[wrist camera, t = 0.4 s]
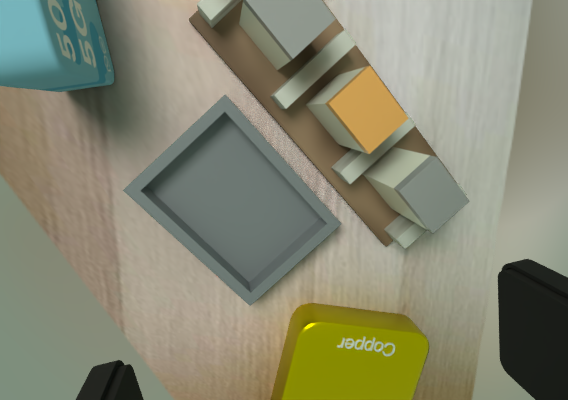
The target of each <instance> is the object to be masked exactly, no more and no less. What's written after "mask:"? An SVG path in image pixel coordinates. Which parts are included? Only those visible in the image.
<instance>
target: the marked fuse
mask: <svg viewBox="0 0 568 400" xmlns="http://www.w3.org/2000/svg"><path fill="white" fill-rule="evenodd" d="M306 106H307V107H308V108H309V110H310V111H311V112H312V113H313V114H314V116H315V117H316V118H317V119H318V120H319V122H320V123H321V124H322V125H323V126H324V128H325V129H326V130H327V131H328V133H329V134H330V135H331V136H332V137H333V139H334V140H335V141H336V142H337V143H338V144H339V145H342V146H345V147H348V148H352V149H355V150H358V151H361V152H364V153H367V154H370V153H371V152H372V151H373V150H374V149H375V148H377V147H378V146H379V145H380V144H381V143H382V142H383V141H384V140H385V139H387V138H388V137H389V136H390V135H391V134H392V133H393V132H394V131H395V130H396V129H398V128H399V127H400V126H401V125H402V124H403V123H404V122H405V121H406V120H408V119H409V118H408V117H407V115H406V114H405V113H404V111H403V110H402V108H401V107H400V106H399V104H398V103H397V102H396V100H395V99H394V98H393V96H392V95H391V93H390V92H389V91H388V89H387V88H386V87H385V85H384V84H383V83H382V81H381V80H380V78H379V77H378V76H377V74H376V73H375V72H374V70H373V69H372V68H371V66H367V67H363V68H360V69H356V70H353V71H350V72H346V73H343V74H340V75H337V76H336V77H335V78H334V79H333V80H332V81H330V82H329V83H328V84H327V85H326V86H325V87H324V88H323V89H322V90H321V91H320V92H319V93H317V94H316V95H315V96H314V97H313V98H312V99H311V100H310V101H309V102H308V103H307V104H306Z"/></svg>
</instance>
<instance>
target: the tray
mask: <svg viewBox="0 0 568 400" xmlns="http://www.w3.org/2000/svg"><path fill="white" fill-rule="evenodd" d="M123 191H124V192H125V193H126V194H128V195H129V196H130V197H131V198H132V199H133V200H134V201H135V202H136V203H137V204H139V205H140V206H141V207H142V208H143V209H144V210H145V211H146V212H147V213H148V214H150V215H151V216H152V217H153V218H154V219H155V220H156V221H157V222H158V223H159V224H161V225H162V226H163V227H164V228H165V229H166V230H167V231H168V232H169V233H171V234H172V235H173V236H174V237H175V238H176V239H177V240H178V241H179V242H180V243H182V244H183V245H184V246H185V247H186V248H187V249H188V250H189V251H190V252H191V253H193V254H194V255H195V256H196V257H197V258H198V259H199V260H200V261H201V262H202V263H204V264H205V265H206V266H207V267H208V268H209V269H210V270H211V271H212V272H213V273H215V274H216V275H217V276H218V277H219V278H220V279H221V280H222V281H223V282H224V283H226V284H227V285H228V286H229V287H230V288H231V289H232V290H233V291H234V292H235V293H237V294H238V295H239V296H240V297H241V298H242V299H243V300H244V301H245V302H246V303H248V304H249V305H252V304H253V303H254V302H255V301H256V300H257V299H258V298H259V297H260V296H262V295H263V294H264V293H265V292H266V291H267V290H268V289H269V288H271V287H272V286H273V285H274V284H275V283H276V282H277V281H278V280H279V279H281V278H282V277H283V276H284V275H285V274H286V273H287V272H288V271H289V270H291V269H292V268H293V267H294V266H295V265H296V264H297V263H298V262H300V261H301V260H302V259H303V258H304V257H305V256H306V255H307V254H308V253H310V252H311V251H312V250H313V249H314V248H315V247H316V246H317V245H318V244H320V243H321V242H322V241H323V240H324V239H325V238H326V237H327V236H329V235H330V234H331V233H332V232H333V231H334V230H335V229H336V228H337V227H339V226H340V225H341V223H340V222H339V221H338V220H337V219H336V217H335V216H334V215H333V214H332V213H331V212H330V211H329V210H328V208H327V207H326V206H325V205H324V204H323V203H322V202H321V201H320V200H319V198H318V197H317V196H316V195H315V194H314V193H313V192H312V191H311V190H310V188H309V187H308V186H307V185H306V184H305V183H304V182H303V181H302V179H301V178H300V177H299V176H298V175H297V174H296V173H295V172H294V171H293V169H292V168H291V167H290V166H289V165H288V164H287V163H286V162H285V161H284V159H283V158H282V157H281V156H280V155H279V154H278V153H277V152H276V150H275V149H274V148H273V147H272V146H271V145H270V144H269V143H268V142H267V140H266V139H265V138H264V137H263V136H262V135H261V134H260V133H259V132H258V130H257V129H256V128H255V127H254V126H253V125H252V124H251V123H250V121H249V120H248V119H247V118H246V117H245V116H244V115H243V114H242V113H241V111H240V110H239V109H238V108H237V107H236V106H235V105H234V104H233V103H232V101H231V100H230V99H229V98H228V97H227V96H226V95H224V96H223V97H222V98H221V99H220V100H219V101H218V102H217V103H216V104H215V105H213V106H212V107H211V108H210V109H209V110H208V111H207V112H206V113H205V114H204V115H203V116H202V117H201V118H200V119H199V120H197V121H196V122H195V123H194V124H193V125H192V126H191V127H190V128H189V129H188V130H187V131H186V132H185V133H184V134H183V135H181V136H180V137H179V138H178V139H177V140H176V141H175V142H174V143H173V144H172V145H171V146H170V147H169V148H168V149H167V150H165V151H164V152H163V153H162V154H161V155H160V156H159V157H158V158H157V159H156V160H155V161H154V162H153V163H152V164H151V165H149V166H148V167H147V168H146V169H145V170H144V171H143V172H142V173H141V174H140V175H139V176H138V177H137V178H136V179H135V180H133V181H132V182H131V183H130V184H129V185H128V186H127V187H126V188H125V189H124V190H123Z"/></svg>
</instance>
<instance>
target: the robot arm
mask: <svg viewBox="0 0 568 400" xmlns="http://www.w3.org/2000/svg"><path fill="white" fill-rule="evenodd" d="M498 299H499V301H498V302H499V339H500V340H499V343H500V361H501V364H502V366H503V368H504V370H505V371H506V372H507V374H508V375H510V376H511V377H512V378H513V379H514V380H515V381H516V382H517V383H518V384H519V385H520V386H521V387H522V388H523V389H525V390H526V391H527V392H528V393H529V394H530V395H531V396H532V397H533V398H534V399H535V400H568V278H567V277H565V276H563V275H561V274H559V273H557V272H555V271H553V270H551V269H549V268H547V267H545V266H543V265H540V264H538V263H537V262H535V261H532V260H529V259H524V260H521V261H517V262H512V263H508V264H506V265H504V266H503V268H502V271H501V272H499V274H498ZM76 400H143V397H142V394H141V391H140V388H139V385H138V382H137V379H136V376H135V373H134V370H133V367H132V366H131V365H130V364H129V365H124V363H123V362H122V361H120V360H118V361H114V362H109V363H106V364H102V365H97V366H95V367H93V368H92V369H91V371H90V373H89V375H88V377H87V379H86V381H85V383H84V385H83V387H82V388H81V391H80V393H79V394H78V396H77V398H76Z"/></svg>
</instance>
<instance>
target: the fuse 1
mask: <svg viewBox="0 0 568 400" xmlns="http://www.w3.org/2000/svg"><path fill="white" fill-rule="evenodd" d="M334 20H335V17H334V16H333V14H332V13H331V12H330V10H329V9H328V8H327V6H326V5H325V4H324V2H323V1H322V0H243V4H242V10H241V16H240V22H239V25H240V26H241V27H242V28H243V30H244V31H245V32H246V33H247V34H248V36H249V37H250V38H251V39H252V41H253V42H254V43H255V44H256V45H257V47H258V48H259V49H260V50H261V51H262V53H263V54H264V55H265V56H266V57H267V59H268V60H269V61H270V62H271V64H272V65H273V66H274V67H275V68H276V70H278V69H280V68H281V67H283V66H284V65H285V64H287V63H288V62H290V61H291V60H292V59H294V58H295V57H296V56H297V55H298V54H299V53H300V52H301V51H302V50H303V49H304V48H305V47H306V46H307V45H309V44H310V43H311V42H312V41H313V40H314V39H315V38H316V37H317V36H318V35H319V34H320V33H321V32H322V31H324V30H325V29H326V28H327V27H328V26H329V25H330V24H331V23H332V22H333V21H334Z"/></svg>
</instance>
